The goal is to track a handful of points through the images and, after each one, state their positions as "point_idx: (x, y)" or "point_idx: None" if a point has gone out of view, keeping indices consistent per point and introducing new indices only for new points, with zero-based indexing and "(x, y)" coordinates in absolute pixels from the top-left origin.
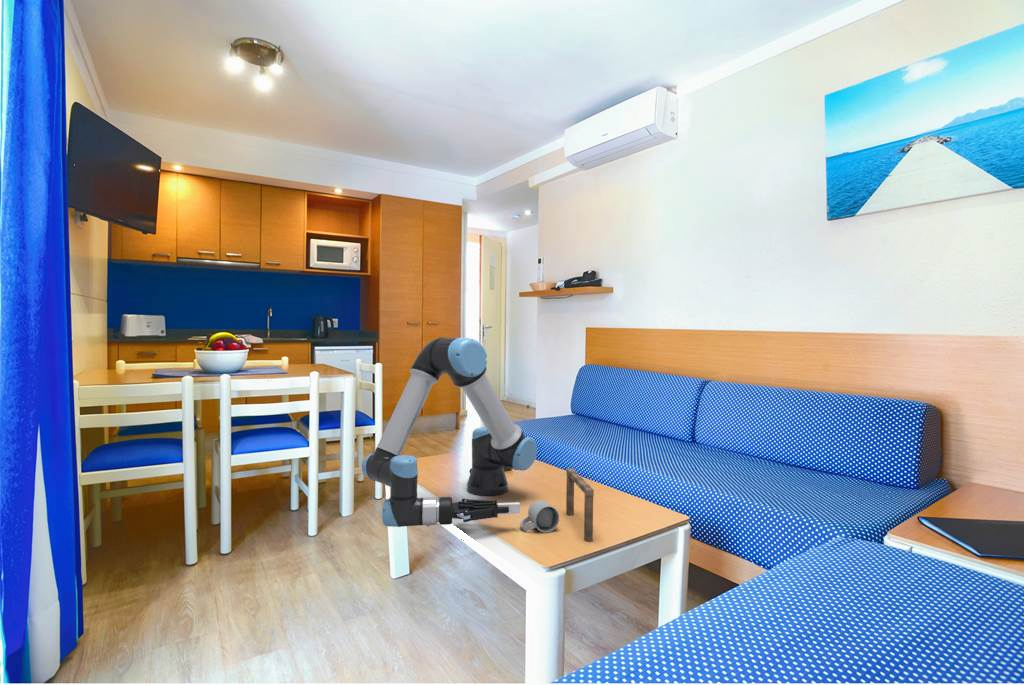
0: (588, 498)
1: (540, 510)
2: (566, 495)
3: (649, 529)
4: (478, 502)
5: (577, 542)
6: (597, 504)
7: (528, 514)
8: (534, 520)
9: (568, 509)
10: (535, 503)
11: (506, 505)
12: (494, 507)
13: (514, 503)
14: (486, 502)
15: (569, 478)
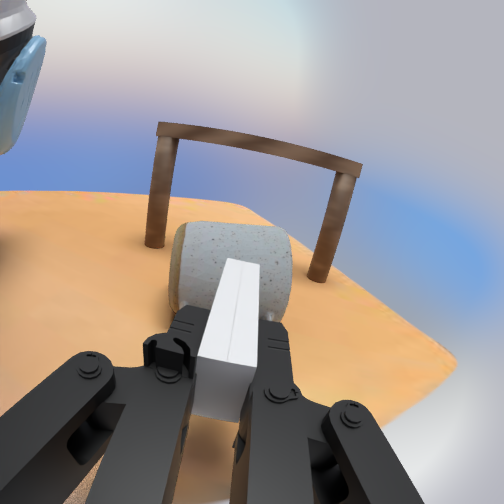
0: (354, 184)
1: (290, 255)
2: (154, 197)
3: (270, 225)
4: (8, 496)
5: (332, 293)
6: (137, 212)
7: (184, 296)
8: (281, 304)
9: (160, 233)
10: (211, 238)
11: (257, 318)
12: (301, 412)
13: (243, 275)
14: (67, 428)
15: (174, 147)
